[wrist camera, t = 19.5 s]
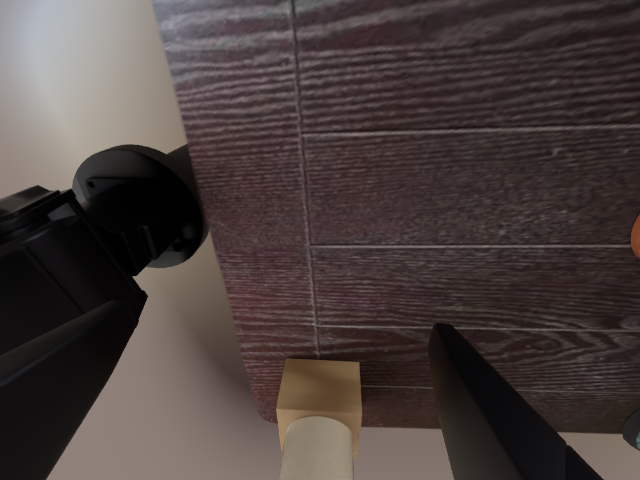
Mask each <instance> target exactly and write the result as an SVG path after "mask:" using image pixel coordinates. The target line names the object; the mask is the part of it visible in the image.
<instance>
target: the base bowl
mask: <svg viewBox="0 0 640 480" xmlns="http://www.w3.org/2000/svg"><path fill="white" fill-rule="evenodd" d="M631 247H632V250H633V252H634V254H635V255H636V256H637V257H638V258H639V259H640V214H639V216H638V217H637V219H636V221H635V223H634V225H633V228H632V231H631Z"/></svg>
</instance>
